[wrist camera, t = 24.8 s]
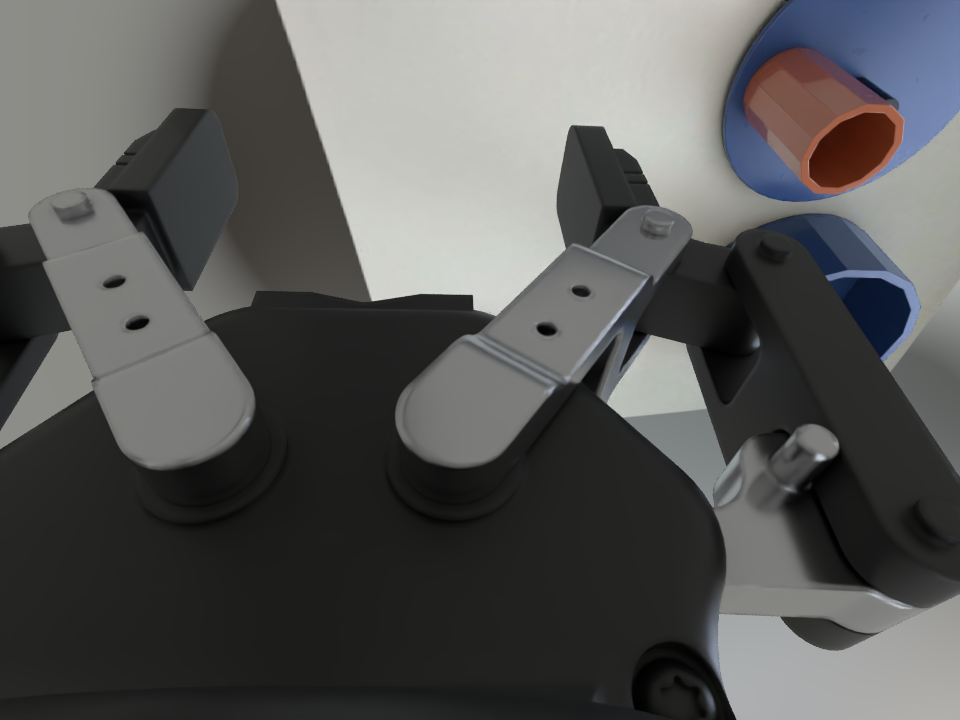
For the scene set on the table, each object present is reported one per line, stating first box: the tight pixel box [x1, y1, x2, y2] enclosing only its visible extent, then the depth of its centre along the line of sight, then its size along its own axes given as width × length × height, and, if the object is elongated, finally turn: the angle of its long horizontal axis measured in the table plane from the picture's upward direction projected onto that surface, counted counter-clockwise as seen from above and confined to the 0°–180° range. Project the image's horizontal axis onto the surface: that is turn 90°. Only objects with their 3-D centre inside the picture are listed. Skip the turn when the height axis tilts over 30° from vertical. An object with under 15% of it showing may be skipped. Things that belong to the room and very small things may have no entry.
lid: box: [723, 0, 960, 202], centre depth 39 cm, size 19×19×5 cm
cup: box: [743, 47, 905, 194], centre depth 36 cm, size 6×6×10 cm
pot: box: [727, 214, 921, 361], centre depth 53 cm, size 18×18×8 cm
